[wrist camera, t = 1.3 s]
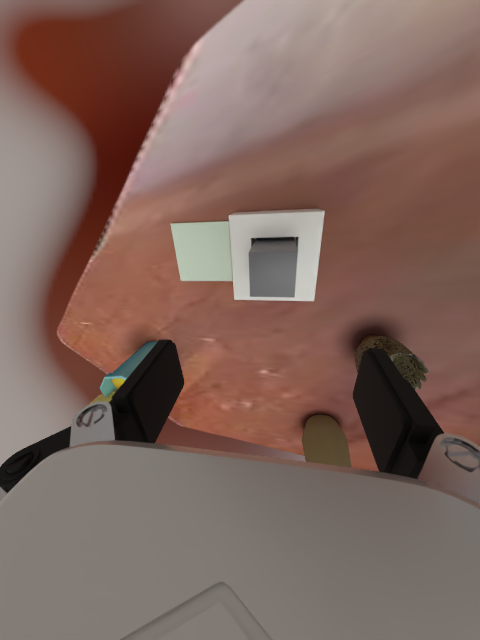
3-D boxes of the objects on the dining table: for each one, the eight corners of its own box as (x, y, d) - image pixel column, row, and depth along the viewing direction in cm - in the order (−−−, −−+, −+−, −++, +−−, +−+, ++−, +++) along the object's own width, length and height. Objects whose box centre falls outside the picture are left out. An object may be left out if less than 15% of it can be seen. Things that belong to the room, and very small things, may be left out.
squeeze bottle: (331, 404, 42) (360, 526, 27) (349, 430, 45) (385, 555, 29) (293, 416, 45) (298, 531, 30) (312, 440, 48) (326, 557, 32)
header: (317, 208, 27) (324, 211, 23) (309, 286, 32) (313, 301, 28) (236, 212, 29) (228, 215, 24) (240, 286, 34) (234, 299, 29)
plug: (292, 234, 29) (297, 251, 20) (290, 268, 31) (294, 297, 22) (258, 235, 29) (248, 252, 21) (258, 268, 31) (249, 296, 23)
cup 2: (335, 349, 36) (347, 386, 29) (365, 313, 33) (388, 345, 26) (375, 367, 37) (397, 407, 30) (410, 334, 33) (443, 371, 26)
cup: (172, 318, 38) (117, 381, 26) (200, 351, 41) (163, 423, 28) (122, 349, 44) (57, 414, 31) (150, 376, 46) (99, 447, 34)
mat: (229, 221, 29) (228, 221, 29) (233, 279, 33) (232, 281, 33) (172, 223, 31) (170, 223, 30) (182, 279, 35) (180, 280, 34)
